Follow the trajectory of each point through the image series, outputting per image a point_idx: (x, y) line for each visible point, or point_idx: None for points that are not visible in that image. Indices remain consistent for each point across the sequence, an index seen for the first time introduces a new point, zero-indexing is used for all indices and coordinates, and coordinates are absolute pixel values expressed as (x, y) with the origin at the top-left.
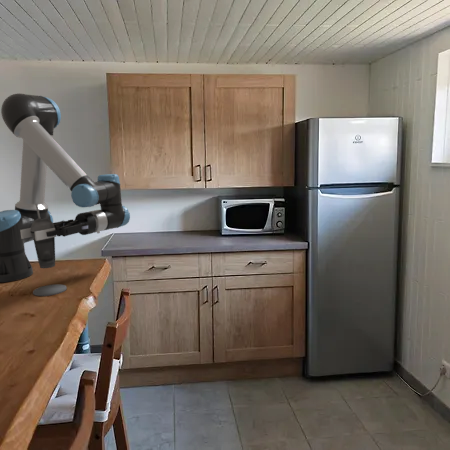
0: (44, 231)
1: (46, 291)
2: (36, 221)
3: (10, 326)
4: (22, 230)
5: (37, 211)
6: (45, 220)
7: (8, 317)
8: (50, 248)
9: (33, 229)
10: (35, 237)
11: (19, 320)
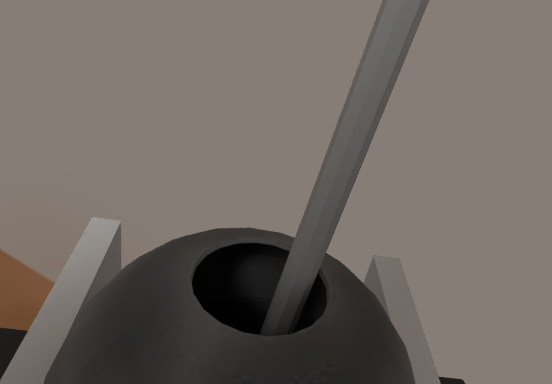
0: (52, 304)
1: None
2: (238, 228)
3: (11, 275)
4: (374, 266)
5: (341, 145)
6: (124, 287)
7: None
8: None
9: (231, 271)
10: (117, 269)
11: (15, 311)
